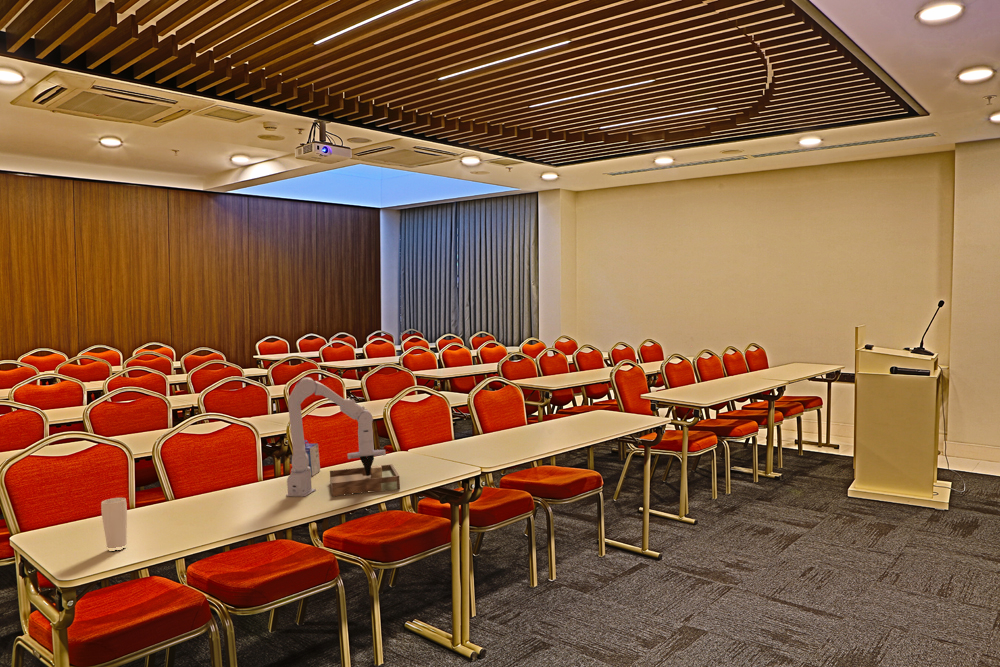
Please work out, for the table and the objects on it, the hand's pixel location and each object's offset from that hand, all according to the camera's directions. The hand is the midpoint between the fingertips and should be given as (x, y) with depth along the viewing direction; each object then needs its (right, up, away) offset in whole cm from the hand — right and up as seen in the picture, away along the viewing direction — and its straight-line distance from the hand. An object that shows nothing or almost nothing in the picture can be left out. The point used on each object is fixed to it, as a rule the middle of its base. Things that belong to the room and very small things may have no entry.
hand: (367, 475), depth 283 cm
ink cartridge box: (-29, -5, +25) cm, 39 cm away
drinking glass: (-64, -10, -64) cm, 91 cm away
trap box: (-1, -4, 0) cm, 4 cm away
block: (+3, -1, +1) cm, 4 cm away
